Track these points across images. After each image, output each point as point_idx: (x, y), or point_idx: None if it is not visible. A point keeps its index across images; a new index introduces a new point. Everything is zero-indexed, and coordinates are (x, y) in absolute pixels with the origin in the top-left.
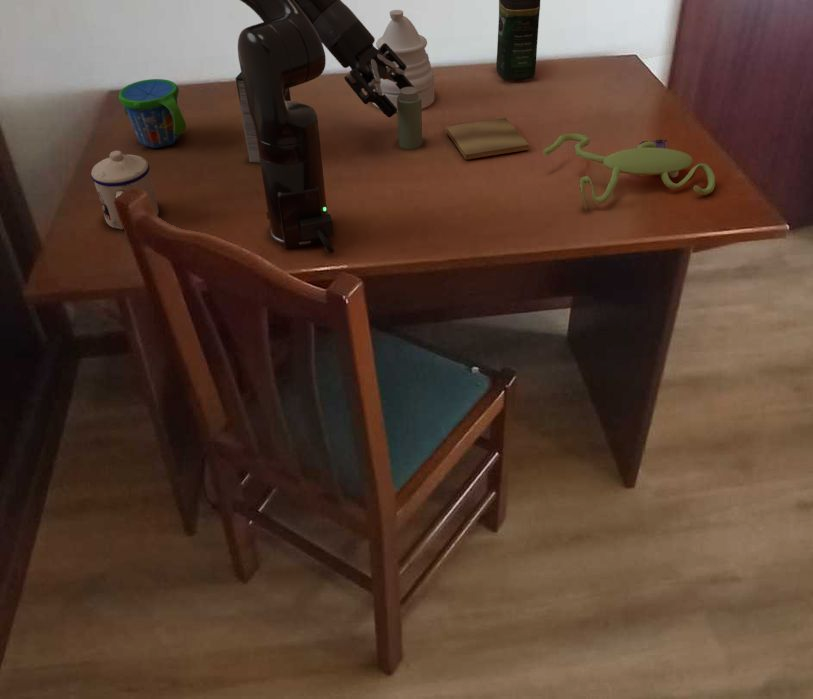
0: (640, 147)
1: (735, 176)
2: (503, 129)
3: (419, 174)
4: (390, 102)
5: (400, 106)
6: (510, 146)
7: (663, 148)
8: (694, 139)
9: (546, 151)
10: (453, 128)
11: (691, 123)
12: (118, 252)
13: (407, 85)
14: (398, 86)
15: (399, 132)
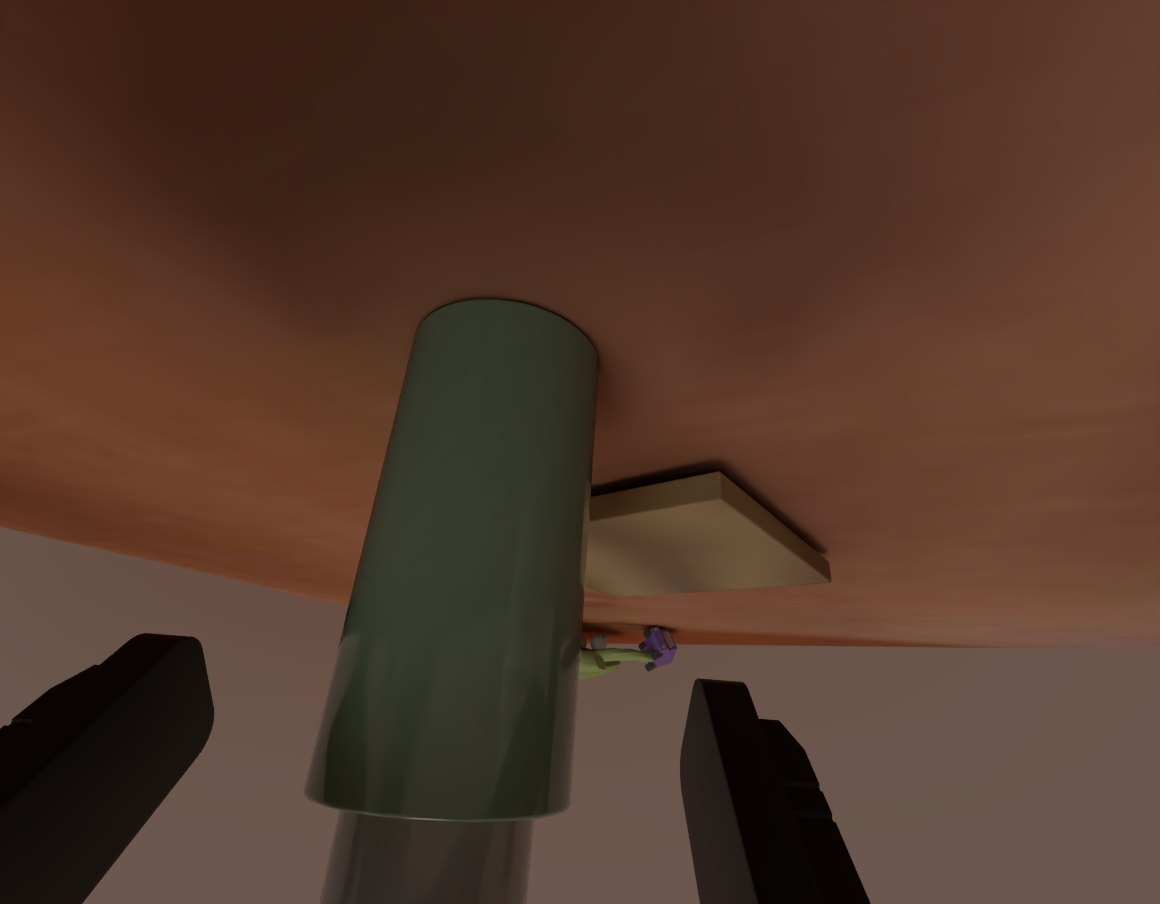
0: (618, 660)
1: (617, 643)
2: (715, 580)
3: (228, 439)
4: (109, 841)
5: (318, 730)
6: (585, 585)
7: (599, 675)
8: (737, 642)
9: None
10: (700, 516)
11: (806, 645)
12: None
13: (706, 878)
14: (748, 874)
15: (394, 435)
